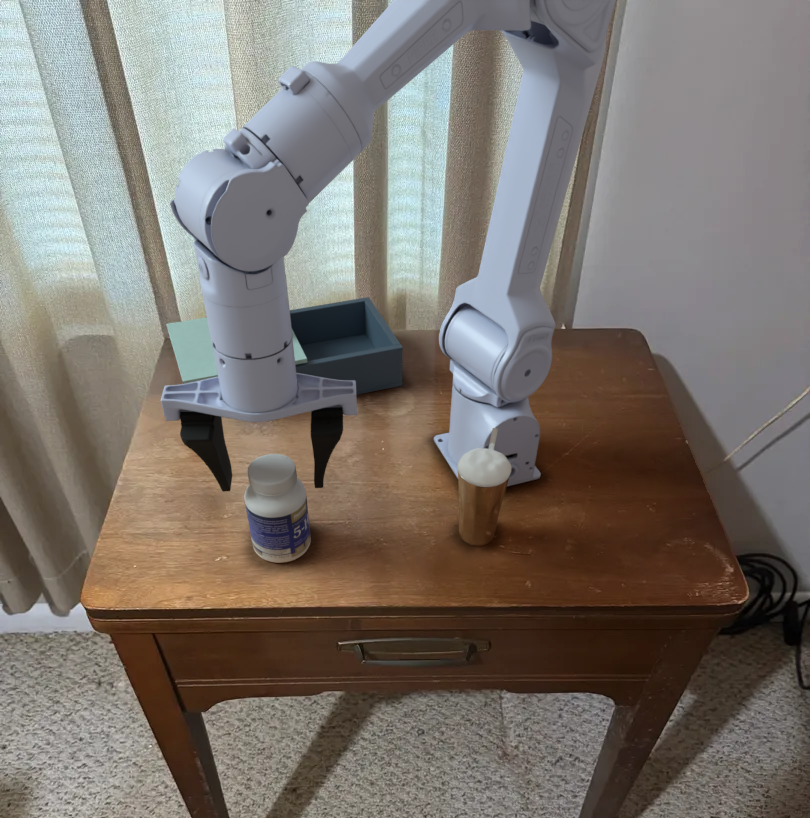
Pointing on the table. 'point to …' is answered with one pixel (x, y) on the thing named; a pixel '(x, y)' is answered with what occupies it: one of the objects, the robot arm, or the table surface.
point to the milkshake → (481, 492)
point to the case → (349, 344)
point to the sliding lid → (203, 349)
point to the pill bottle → (277, 509)
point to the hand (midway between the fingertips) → (273, 481)
